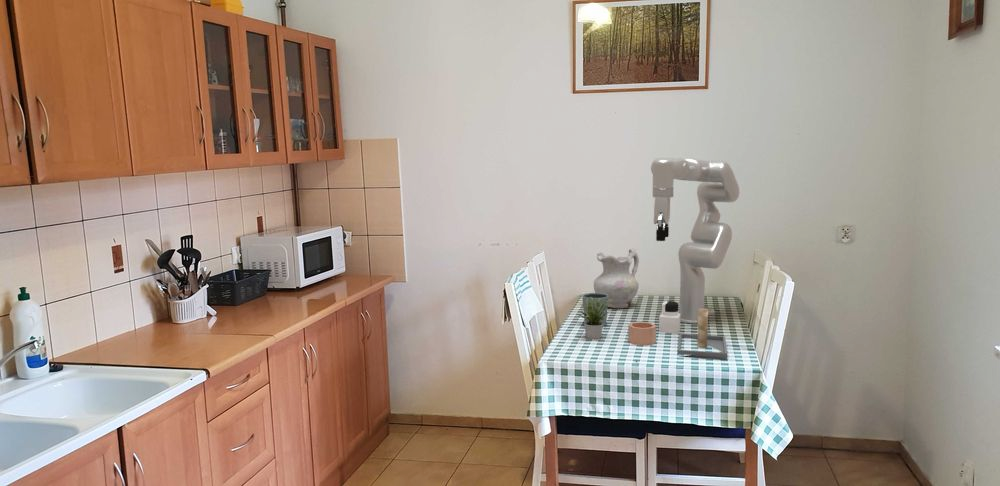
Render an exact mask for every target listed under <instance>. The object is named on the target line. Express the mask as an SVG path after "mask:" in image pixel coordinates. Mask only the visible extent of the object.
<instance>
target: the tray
mask: <svg viewBox="0 0 1000 486" xmlns="http://www.w3.org/2000/svg"><path fill="white" fill-rule="evenodd" d="M678 334H679V335H678V343H677V345H678V346H677V355H679V356H677V358H691V359H692V358H693V359H694V358H695V359H703V360H705V359H707V360H721V361H722V360H723V361H727V360H728V349H727V340H726V339H727V338H726V336H725V335H723V336H722V335H708V334H707V346H709V347H711V348H712V349H715V350H717V351H705V350H703V351H702V350H689V349H687V350H686V349H681V348H682V347H681V345H682V339H694V340H697V341H698V334H693V333H692V334H691V333H690V334H689V333H688V334H687V333H678Z"/></svg>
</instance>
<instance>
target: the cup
mask: <svg viewBox="0 0 1000 486" xmlns="http://www.w3.org/2000/svg"><path fill="white" fill-rule="evenodd" d="M627 329H628V330H627V331H628V332H627V342H629V343H630V344H632V345H636V346H652V345H654V344H655V343H656V342H657V325H656V324H654V323H652V322H646V321H645V322H644V321H636V322H631V323H629V324H628V328H627Z"/></svg>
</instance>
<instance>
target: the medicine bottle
mask: <svg viewBox="0 0 1000 486" xmlns="http://www.w3.org/2000/svg"><path fill="white" fill-rule="evenodd" d="M679 307H680V303H678V302H676V301H673V300H666V301H663V302H662V303H661V313H660V315H659V319H658V320H659V321H658V322H659V323H658V324H659V325H658V327H659V328H658V332H659V333H668V334H680V332H681V322H680V315H681V314H680V312H679Z"/></svg>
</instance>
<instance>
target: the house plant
mask: <svg viewBox="0 0 1000 486" xmlns="http://www.w3.org/2000/svg"><path fill="white" fill-rule="evenodd" d="M591 299H592V301H593V310H592V305H591V303H590V302H589V301H588V299H586V301H587V305H588V310H587V311H588V312H587V311H586V312H587V313H588V315H589V316H588V315H587V314H585V313H584V311H581V310H579V313H581V314H579V315H577V317H581V318H583V320H585V319H586V318H587V319H588V320H589V321H587V319H586V321H587V322H585V321H584V322H583V327H584V333H585V338H586V339H589V340H600V339H601V338H602V333H603V328H604V327H603V323H602V322H599V321H600V320H601V319H602V320H604V319H603V317H605V319H606V316H605V315H606V314H607V315H608V314H609V313H610V312H612V311H607V313H605V314H604V312H603V311H604V309H605V308H606V307H607V306H609V305H607V304H606V303H607V302H609V301H611V300H608V301H606V302H605V303H604V304H603V305H602V306H601V308H600V309H599V306H600V303H601V298H600V299H599V300H598V303H597V306H596V307H595V301H594V299H593V298H592V297H591ZM575 302H576V303H577V301H575ZM605 304H606V305H607V306H606V307H605V308H604V309H603V311H602V312H603V313H602V312H601V313H600V314H599V312H600V311H601V309H602V308H603V306H604V305H605ZM578 305H581V303H580V302H578ZM610 305H613V304H610ZM582 308H583V310H584V309H585V308H586V307H585V308H584V307H583V306H582ZM607 308H608V307H607ZM586 309H587V308H586ZM586 309H585V310H586ZM598 309H599V311H598ZM598 314H599V315H598ZM602 314H604V315H603V316H601V315H602ZM584 316H585V317H586V318H585V317H584ZM600 316H601V317H600Z"/></svg>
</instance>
